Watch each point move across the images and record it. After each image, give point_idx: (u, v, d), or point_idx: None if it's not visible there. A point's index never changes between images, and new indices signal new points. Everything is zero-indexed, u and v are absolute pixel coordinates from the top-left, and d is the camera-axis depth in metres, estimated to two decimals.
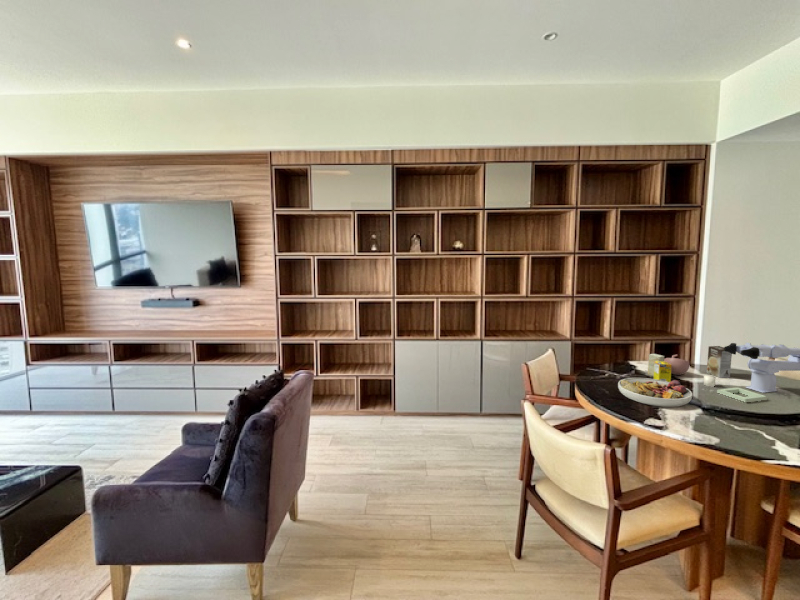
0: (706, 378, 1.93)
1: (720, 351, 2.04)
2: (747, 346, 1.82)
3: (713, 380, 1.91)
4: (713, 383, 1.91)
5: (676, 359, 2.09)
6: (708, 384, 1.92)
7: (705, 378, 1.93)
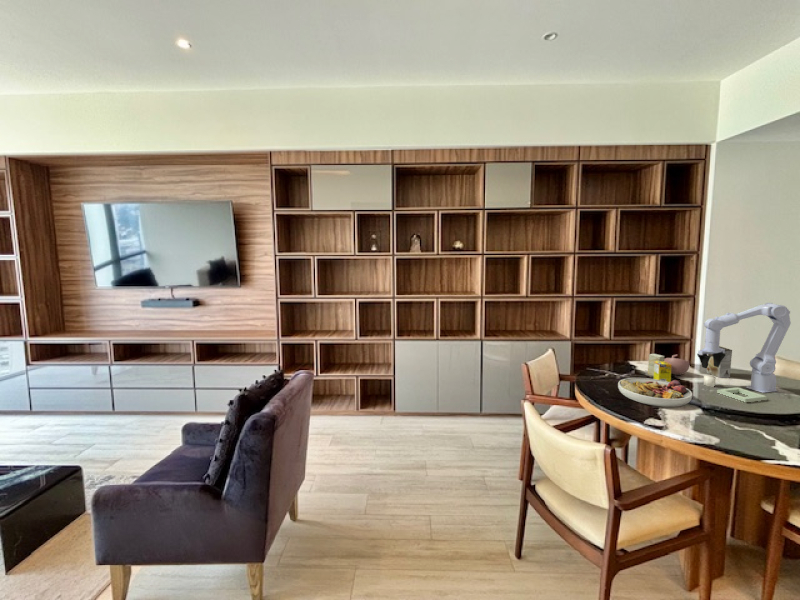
0: (706, 378, 1.93)
1: None
2: None
3: (713, 380, 1.91)
4: (713, 383, 1.91)
5: (676, 359, 2.09)
6: (708, 384, 1.92)
7: (705, 378, 1.93)
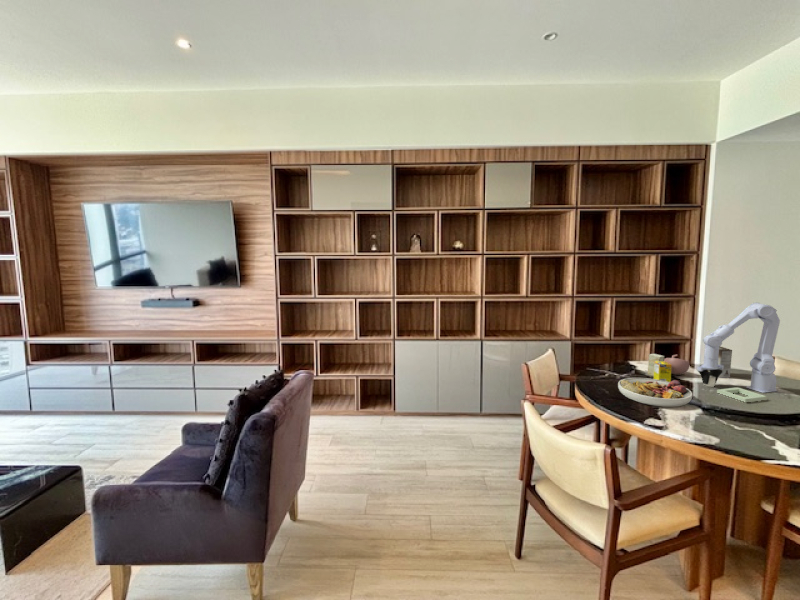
0: None
1: (720, 351, 2.04)
2: None
3: (713, 380, 1.91)
4: (713, 383, 1.91)
5: (676, 359, 2.09)
6: (708, 384, 1.92)
7: None
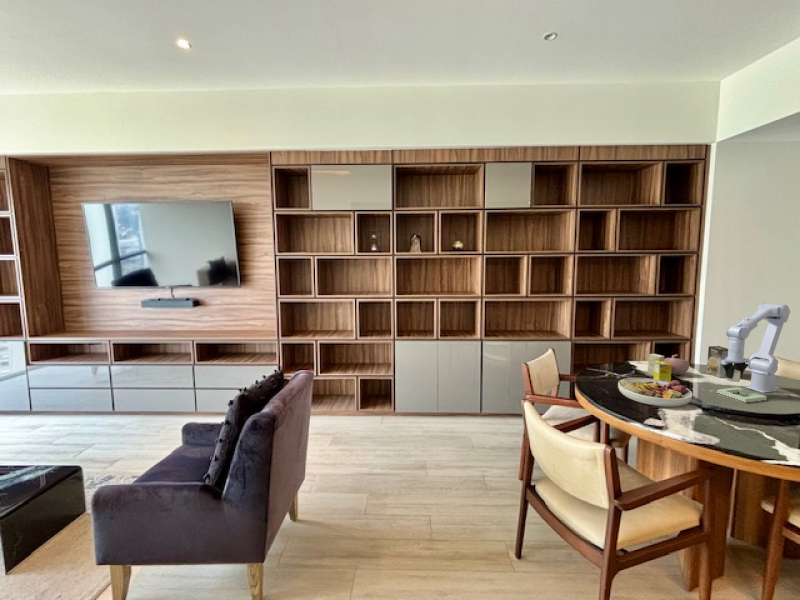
0: None
1: (720, 351, 2.04)
2: None
3: (738, 374, 1.79)
4: (738, 377, 1.79)
5: (676, 359, 2.09)
6: (732, 378, 1.80)
7: None
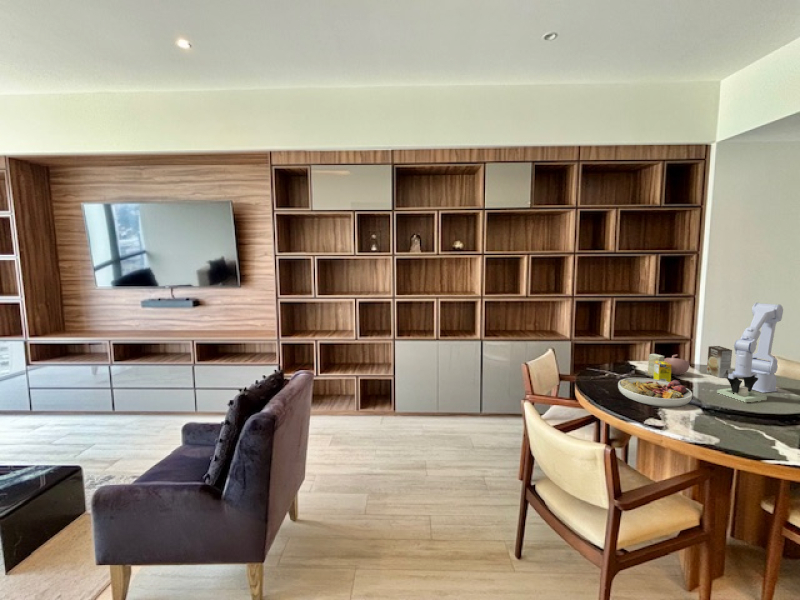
0: None
1: (720, 351, 2.04)
2: None
3: (745, 391, 1.76)
4: (745, 394, 1.76)
5: (676, 359, 2.09)
6: (740, 395, 1.77)
7: None
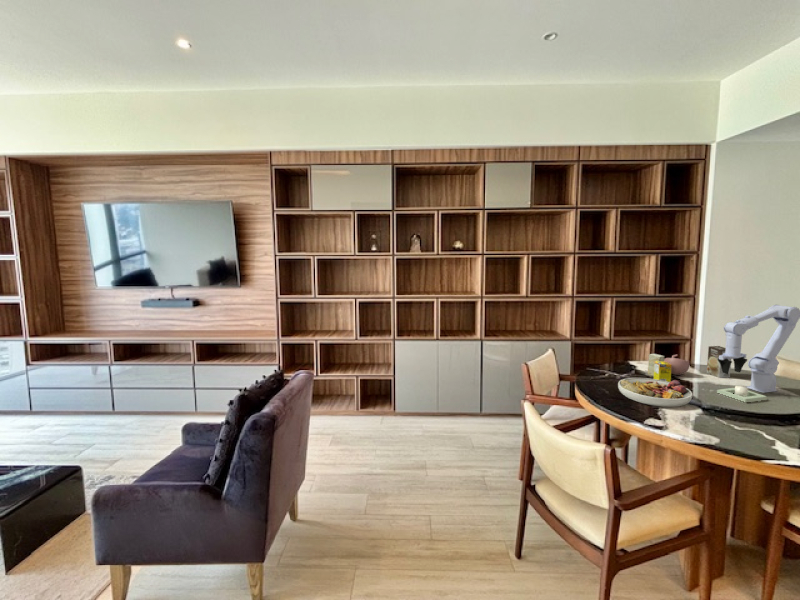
0: (738, 389, 1.77)
1: (720, 351, 2.04)
2: None
3: (745, 391, 1.76)
4: (745, 394, 1.76)
5: (676, 359, 2.09)
6: (740, 395, 1.77)
7: (736, 388, 1.78)
